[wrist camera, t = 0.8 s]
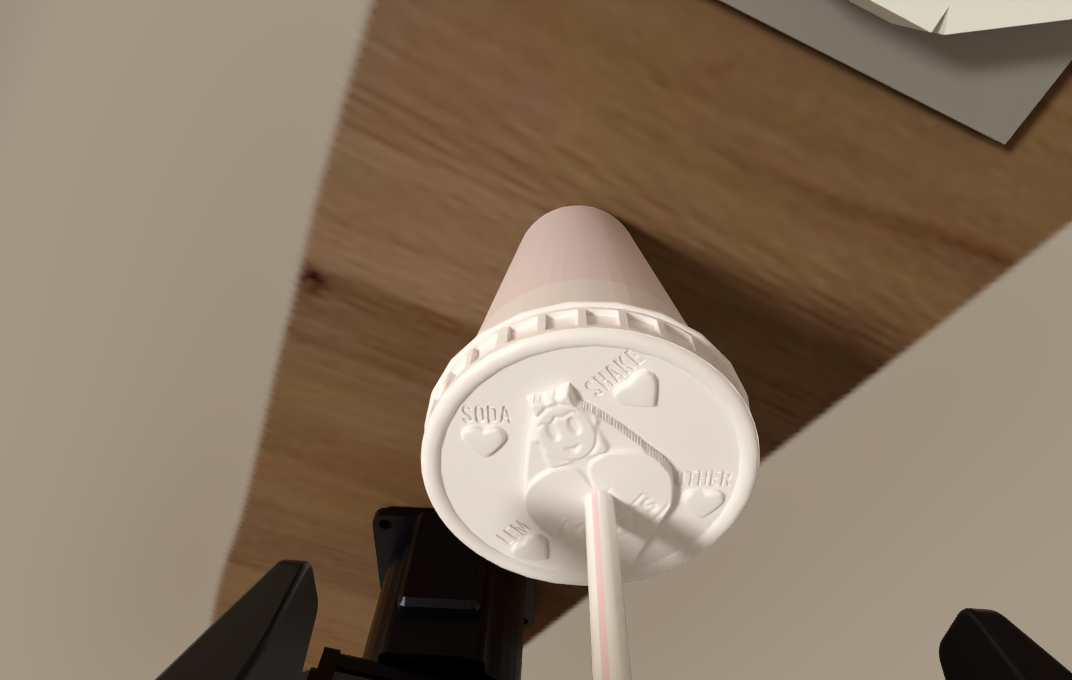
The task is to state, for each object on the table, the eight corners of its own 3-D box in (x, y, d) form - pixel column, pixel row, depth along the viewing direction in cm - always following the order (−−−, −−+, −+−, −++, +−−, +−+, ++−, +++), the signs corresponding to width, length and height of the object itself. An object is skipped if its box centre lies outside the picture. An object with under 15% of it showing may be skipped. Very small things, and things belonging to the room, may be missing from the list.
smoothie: (523, 373, 23) (483, 852, 11) (437, 208, 20) (250, 613, 8) (705, 311, 21) (894, 784, 9) (642, 123, 18) (800, 461, 6)
